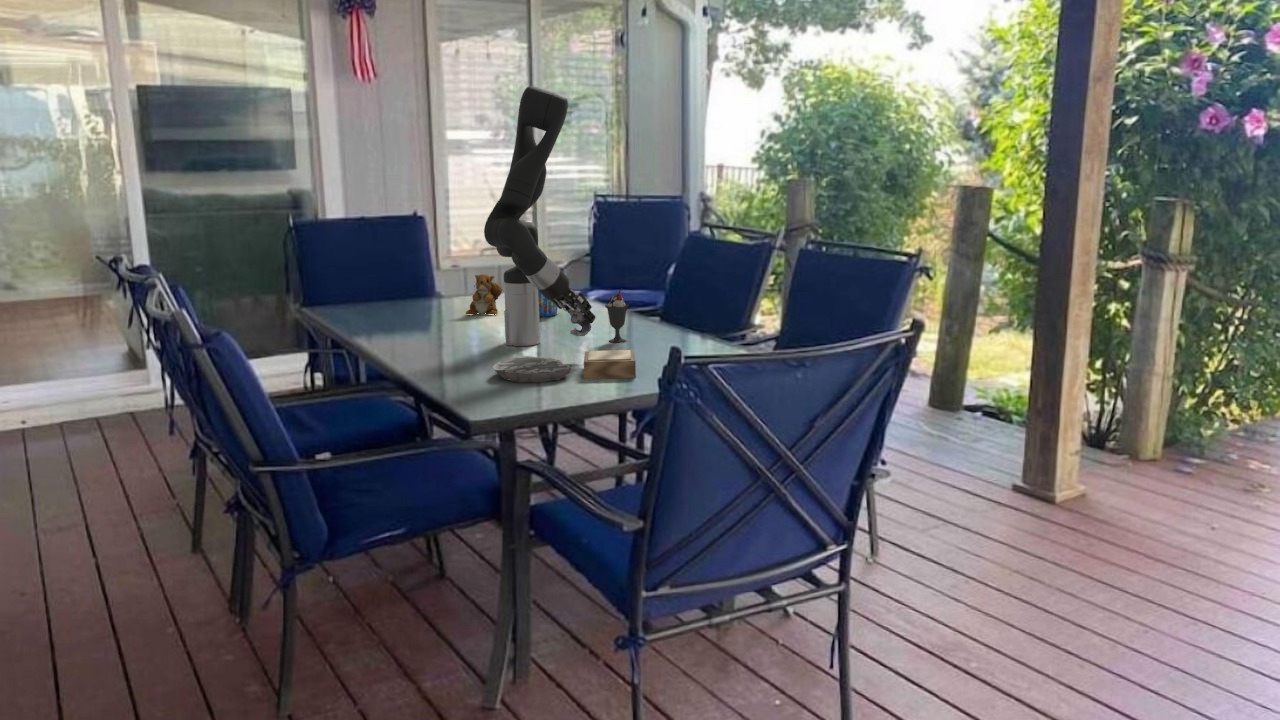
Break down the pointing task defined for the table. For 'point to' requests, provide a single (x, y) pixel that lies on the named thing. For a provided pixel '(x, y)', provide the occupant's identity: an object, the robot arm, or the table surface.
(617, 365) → the plinth
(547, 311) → the snack cup
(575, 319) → the grey figurine
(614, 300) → the sundae
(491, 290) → the stuffed squirrel
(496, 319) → the table surface
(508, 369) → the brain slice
